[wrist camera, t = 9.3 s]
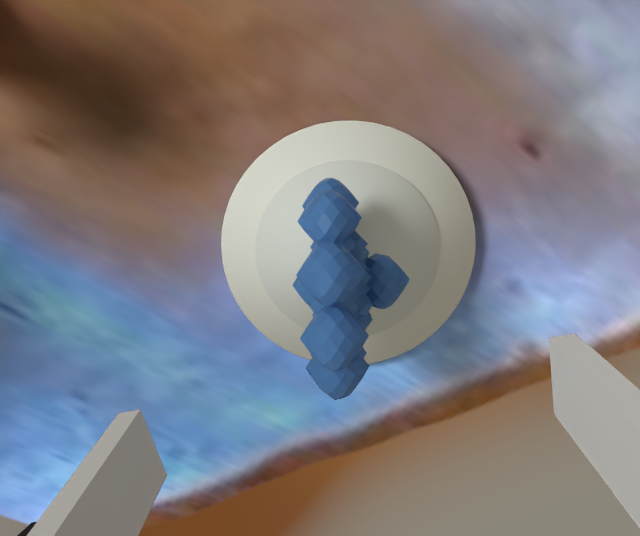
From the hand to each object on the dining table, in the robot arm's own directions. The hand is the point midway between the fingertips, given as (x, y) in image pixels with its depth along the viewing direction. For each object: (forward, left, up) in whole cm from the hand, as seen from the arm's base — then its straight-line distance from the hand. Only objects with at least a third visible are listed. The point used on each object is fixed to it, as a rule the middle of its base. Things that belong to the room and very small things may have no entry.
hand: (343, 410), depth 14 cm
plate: (0, 0, -19) cm, 19 cm away
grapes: (0, 0, -18) cm, 18 cm away
